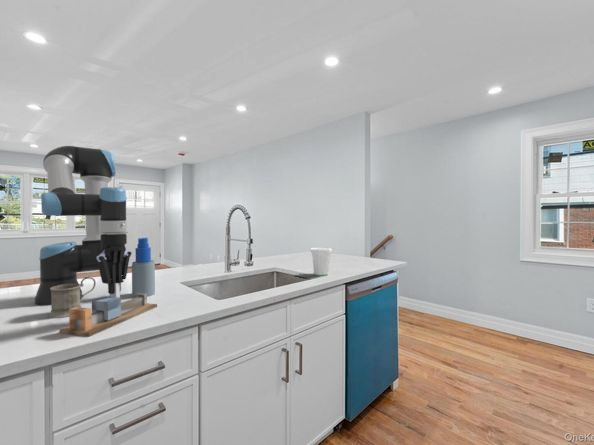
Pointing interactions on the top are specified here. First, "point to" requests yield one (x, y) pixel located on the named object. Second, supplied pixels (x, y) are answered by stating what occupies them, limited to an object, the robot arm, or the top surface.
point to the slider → (107, 307)
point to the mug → (66, 298)
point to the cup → (321, 260)
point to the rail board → (110, 322)
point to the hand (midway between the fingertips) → (114, 302)
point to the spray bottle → (143, 270)
